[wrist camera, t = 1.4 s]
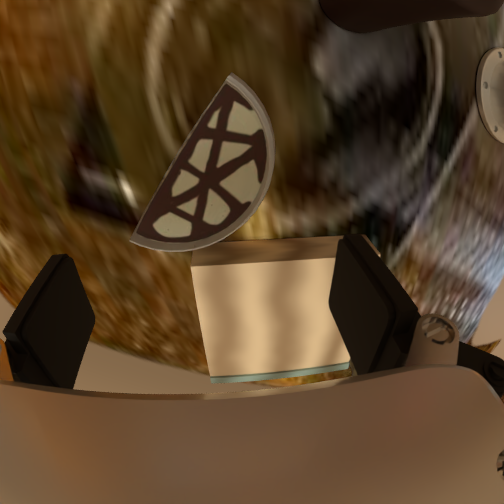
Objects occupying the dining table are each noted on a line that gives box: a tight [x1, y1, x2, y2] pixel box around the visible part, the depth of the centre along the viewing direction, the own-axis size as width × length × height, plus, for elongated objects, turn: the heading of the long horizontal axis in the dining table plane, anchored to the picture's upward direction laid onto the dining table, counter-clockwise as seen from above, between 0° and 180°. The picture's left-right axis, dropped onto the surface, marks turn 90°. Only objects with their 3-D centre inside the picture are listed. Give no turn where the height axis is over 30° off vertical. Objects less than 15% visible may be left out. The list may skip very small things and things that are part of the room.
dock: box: [191, 235, 381, 383], centre depth 33 cm, size 18×18×4 cm
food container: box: [130, 72, 275, 252], centre depth 21 cm, size 12×6×10 cm, turn 145°
